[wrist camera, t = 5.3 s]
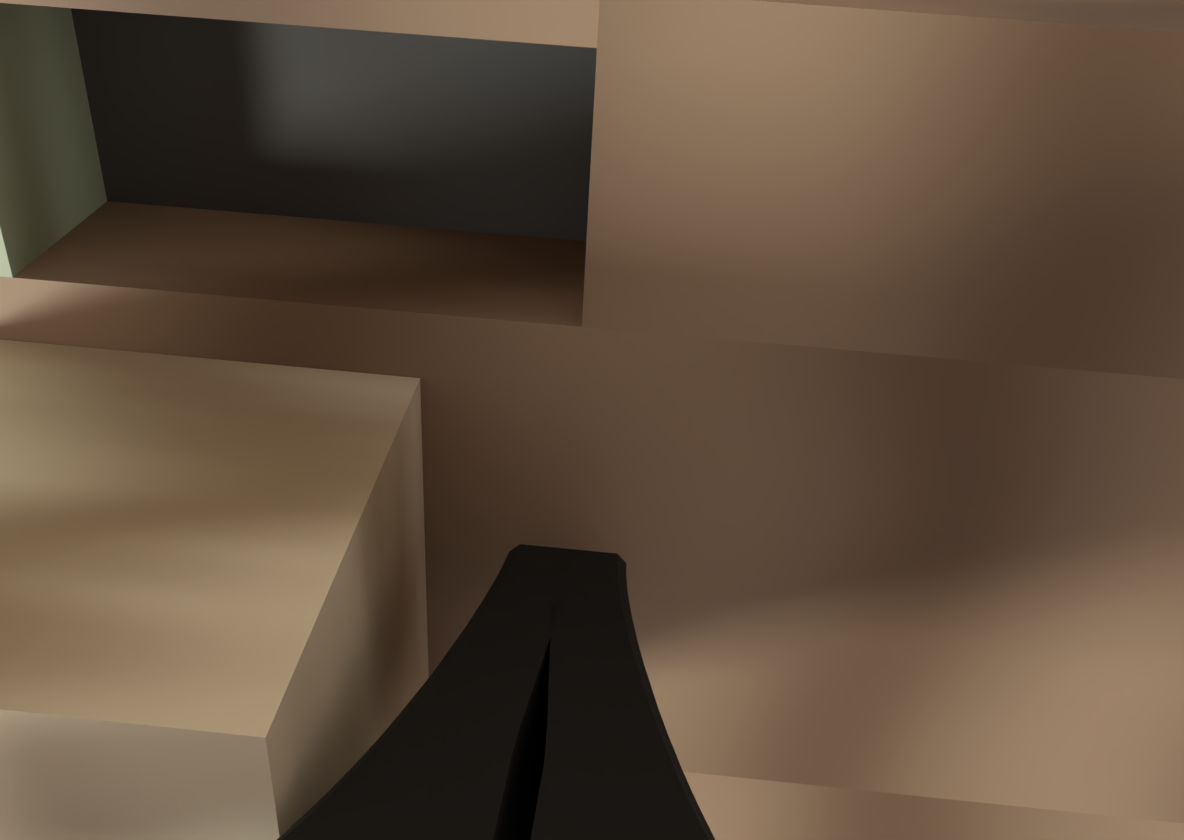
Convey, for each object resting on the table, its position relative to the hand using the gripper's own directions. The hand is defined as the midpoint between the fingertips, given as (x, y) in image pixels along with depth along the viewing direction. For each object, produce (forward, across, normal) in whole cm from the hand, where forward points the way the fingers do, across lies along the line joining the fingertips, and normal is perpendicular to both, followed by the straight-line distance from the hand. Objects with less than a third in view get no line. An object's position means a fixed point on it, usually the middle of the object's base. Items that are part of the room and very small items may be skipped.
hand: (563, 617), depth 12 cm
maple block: (+1, +4, 0) cm, 4 cm away
